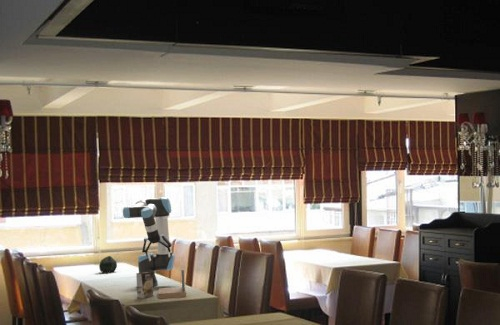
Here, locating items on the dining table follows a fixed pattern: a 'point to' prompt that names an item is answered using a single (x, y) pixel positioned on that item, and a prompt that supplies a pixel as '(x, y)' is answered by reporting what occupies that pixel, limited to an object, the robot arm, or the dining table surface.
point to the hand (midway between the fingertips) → (159, 258)
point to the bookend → (182, 279)
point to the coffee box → (144, 284)
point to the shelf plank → (171, 292)
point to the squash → (108, 265)
